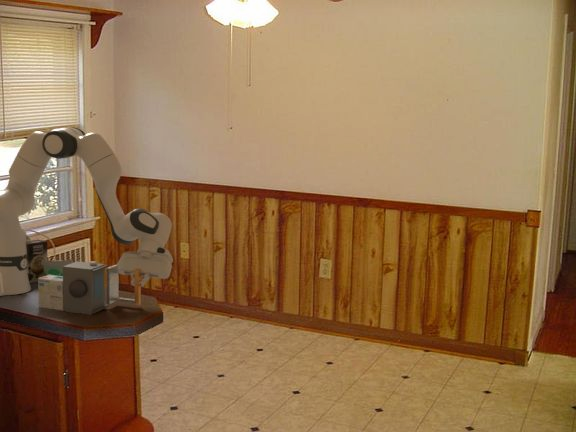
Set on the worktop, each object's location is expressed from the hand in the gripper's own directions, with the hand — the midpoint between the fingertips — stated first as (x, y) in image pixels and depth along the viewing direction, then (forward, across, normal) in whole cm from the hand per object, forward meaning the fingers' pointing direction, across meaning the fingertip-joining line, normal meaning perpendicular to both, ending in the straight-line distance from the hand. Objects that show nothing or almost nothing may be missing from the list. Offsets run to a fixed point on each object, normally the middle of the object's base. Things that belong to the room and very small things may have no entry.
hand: (136, 285), depth 266 cm
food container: (-6, -45, +19) cm, 49 cm away
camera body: (+13, -15, -1) cm, 20 cm away
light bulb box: (+13, -27, -1) cm, 30 cm away
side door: (+6, -4, +4) cm, 9 cm away
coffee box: (-8, -57, +20) cm, 61 cm away
